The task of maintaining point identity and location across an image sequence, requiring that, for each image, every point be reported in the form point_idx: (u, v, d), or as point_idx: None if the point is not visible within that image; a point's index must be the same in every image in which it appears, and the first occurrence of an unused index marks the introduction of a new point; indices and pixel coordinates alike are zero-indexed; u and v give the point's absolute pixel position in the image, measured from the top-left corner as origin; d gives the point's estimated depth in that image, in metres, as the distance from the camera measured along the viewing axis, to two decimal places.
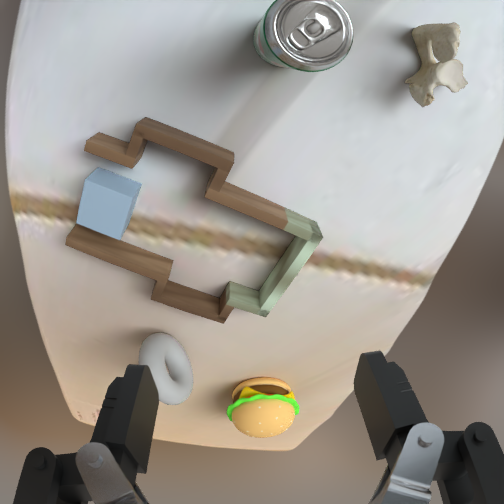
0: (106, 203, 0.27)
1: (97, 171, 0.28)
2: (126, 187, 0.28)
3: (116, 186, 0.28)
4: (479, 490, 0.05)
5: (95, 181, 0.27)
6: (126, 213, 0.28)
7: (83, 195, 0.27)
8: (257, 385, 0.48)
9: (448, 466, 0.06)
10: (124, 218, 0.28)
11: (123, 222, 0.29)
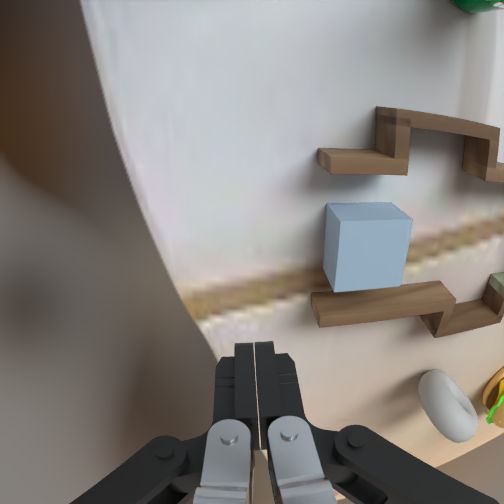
0: (379, 243, 0.19)
1: (335, 208, 0.20)
2: (389, 211, 0.20)
3: (379, 214, 0.19)
4: (390, 490, 0.06)
5: (353, 218, 0.19)
6: (407, 245, 0.19)
7: (341, 247, 0.19)
8: None
9: None
10: (404, 253, 0.20)
11: (404, 259, 0.20)
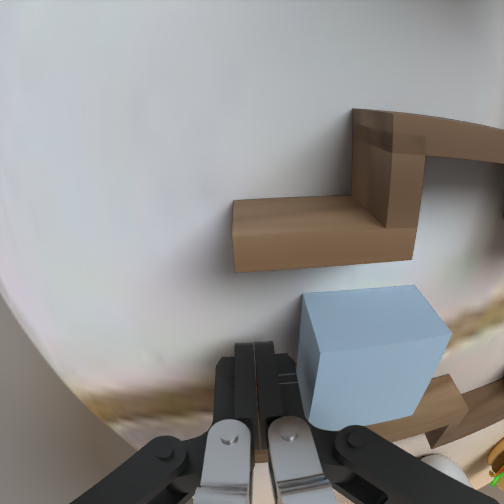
0: (388, 375, 0.10)
1: (316, 307, 0.11)
2: (411, 313, 0.11)
3: (395, 324, 0.10)
4: (390, 490, 0.06)
5: (346, 341, 0.10)
6: (434, 368, 0.10)
7: (320, 386, 0.10)
8: None
9: None
10: (428, 379, 0.11)
11: (425, 386, 0.11)
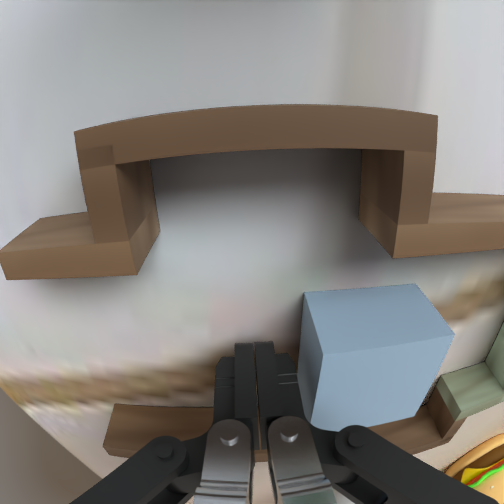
0: (391, 376, 0.10)
1: (318, 308, 0.11)
2: (414, 314, 0.11)
3: (398, 325, 0.10)
4: (389, 490, 0.06)
5: (350, 342, 0.10)
6: (436, 369, 0.10)
7: (322, 388, 0.10)
8: (479, 459, 0.22)
9: None
10: (430, 380, 0.10)
11: (427, 387, 0.11)
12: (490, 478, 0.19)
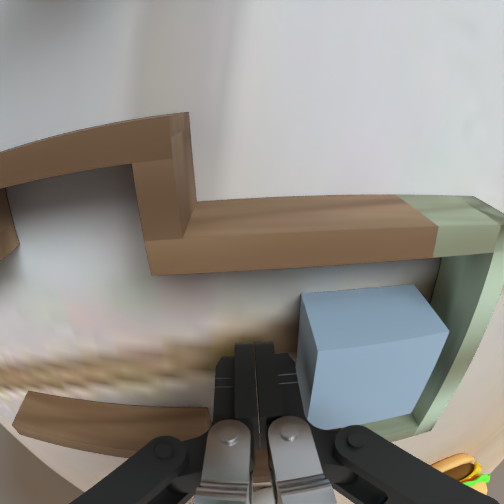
0: (386, 373, 0.10)
1: (313, 306, 0.12)
2: (409, 312, 0.11)
3: (393, 323, 0.10)
4: (390, 490, 0.06)
5: (344, 339, 0.10)
6: (432, 366, 0.10)
7: (318, 384, 0.10)
8: None
9: None
10: (426, 377, 0.11)
11: (423, 384, 0.11)
12: None
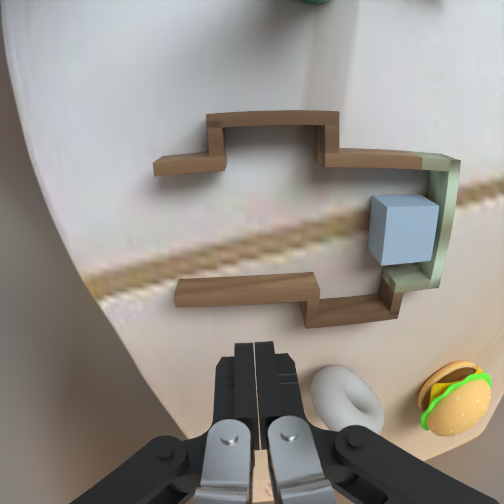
0: (415, 225, 0.23)
1: (379, 198, 0.25)
2: (420, 200, 0.24)
3: (414, 202, 0.24)
4: (390, 490, 0.06)
5: (396, 205, 0.23)
6: (435, 226, 0.23)
7: (387, 227, 0.23)
8: (444, 377, 0.34)
9: None
10: (433, 233, 0.24)
11: (433, 238, 0.24)
12: (455, 391, 0.31)
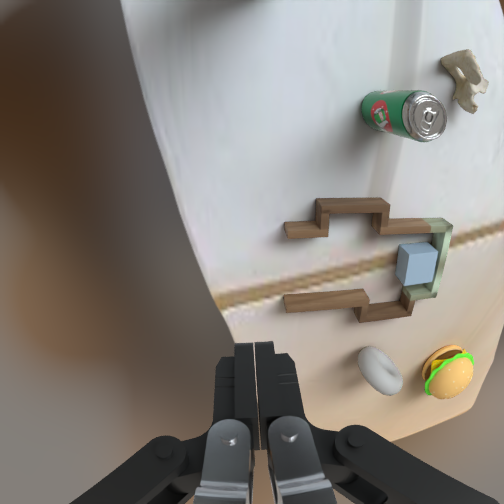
0: (423, 263, 0.41)
1: (404, 247, 0.42)
2: (427, 247, 0.41)
3: (423, 249, 0.41)
4: (390, 490, 0.06)
5: (414, 252, 0.40)
6: (435, 262, 0.41)
7: (408, 265, 0.41)
8: (440, 355, 0.52)
9: None
10: (434, 266, 0.41)
11: (433, 269, 0.41)
12: (447, 364, 0.49)
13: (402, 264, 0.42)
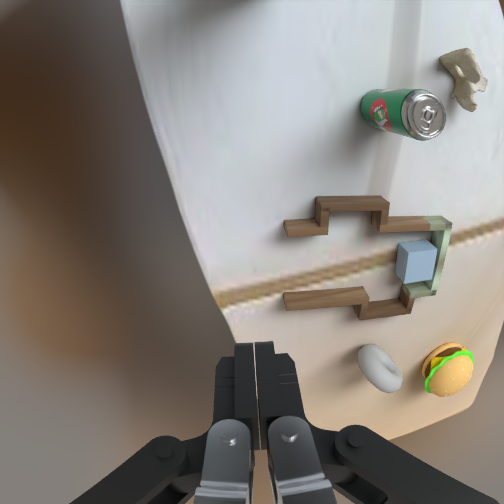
0: (423, 260, 0.41)
1: (403, 245, 0.42)
2: (426, 245, 0.41)
3: (423, 247, 0.41)
4: (390, 490, 0.06)
5: (413, 250, 0.40)
6: (434, 260, 0.41)
7: (408, 263, 0.41)
8: (439, 353, 0.52)
9: None
10: (433, 264, 0.41)
11: (433, 266, 0.41)
12: (447, 362, 0.49)
13: (402, 262, 0.42)
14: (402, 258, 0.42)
